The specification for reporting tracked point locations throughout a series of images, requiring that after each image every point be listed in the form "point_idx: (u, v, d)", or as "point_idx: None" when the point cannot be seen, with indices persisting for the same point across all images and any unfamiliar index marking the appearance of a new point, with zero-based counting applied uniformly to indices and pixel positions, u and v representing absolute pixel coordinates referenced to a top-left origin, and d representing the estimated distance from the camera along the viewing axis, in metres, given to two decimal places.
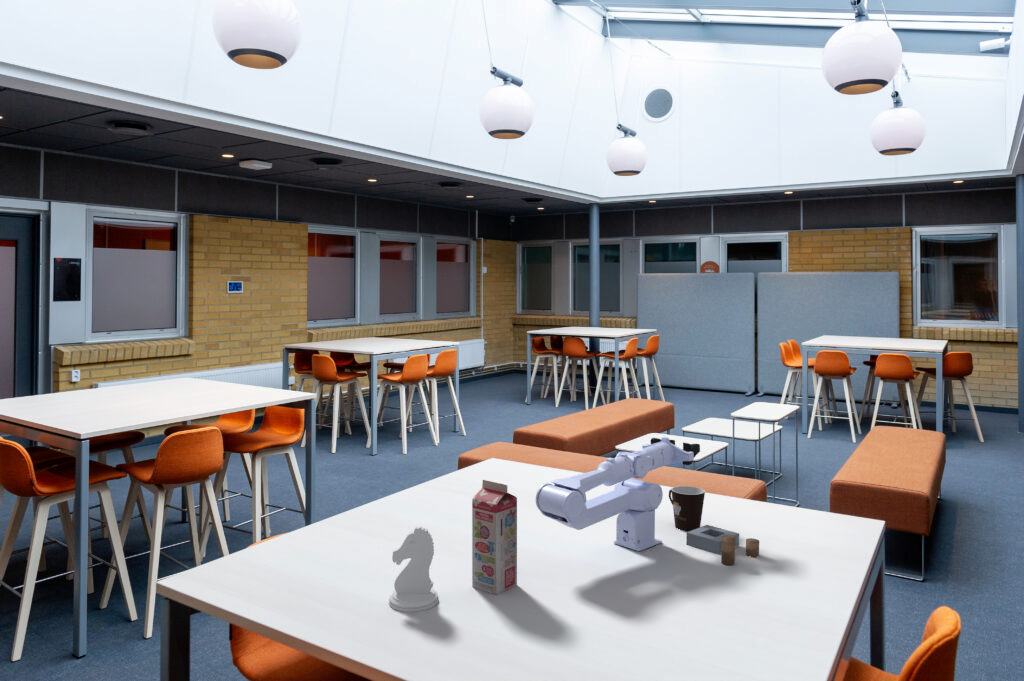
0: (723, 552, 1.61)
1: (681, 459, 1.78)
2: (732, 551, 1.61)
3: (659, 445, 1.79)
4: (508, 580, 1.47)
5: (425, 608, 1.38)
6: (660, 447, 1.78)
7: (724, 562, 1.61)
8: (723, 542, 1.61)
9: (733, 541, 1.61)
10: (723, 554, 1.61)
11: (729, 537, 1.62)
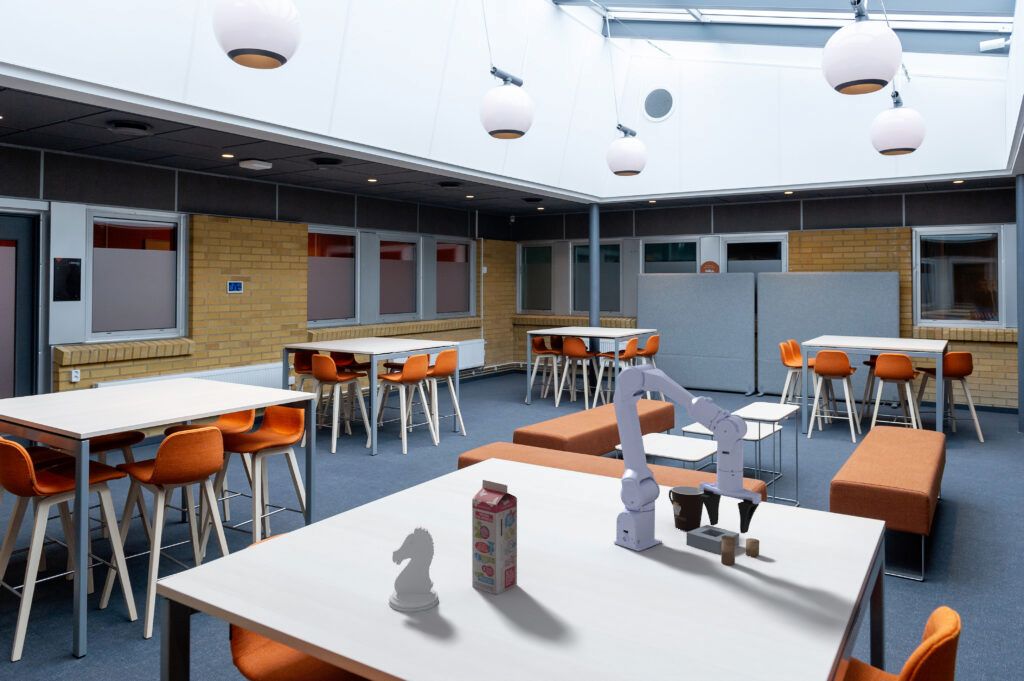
0: (723, 552, 1.61)
1: (746, 494, 1.57)
2: (732, 551, 1.61)
3: None
4: (508, 580, 1.47)
5: (425, 608, 1.38)
6: None
7: (724, 562, 1.61)
8: (723, 542, 1.61)
9: (733, 541, 1.61)
10: (723, 554, 1.61)
11: (728, 536, 1.62)
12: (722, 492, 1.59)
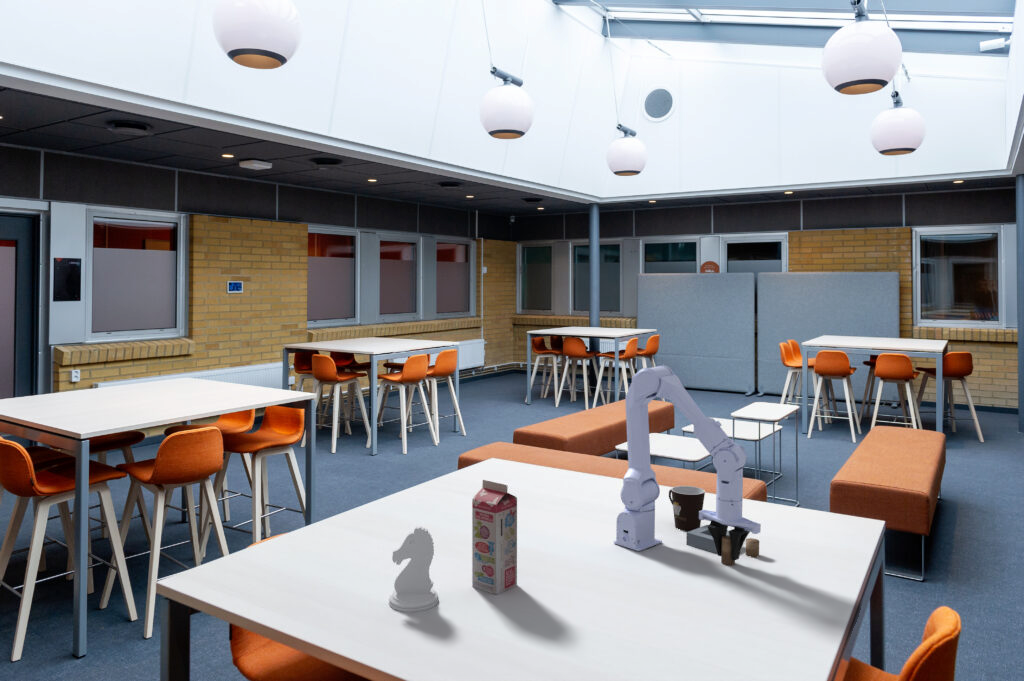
0: (723, 552, 1.61)
1: (746, 523, 1.58)
2: None
3: None
4: (508, 580, 1.47)
5: (425, 608, 1.38)
6: None
7: (724, 562, 1.61)
8: (723, 542, 1.61)
9: None
10: (723, 554, 1.62)
11: (728, 536, 1.62)
12: (721, 521, 1.60)
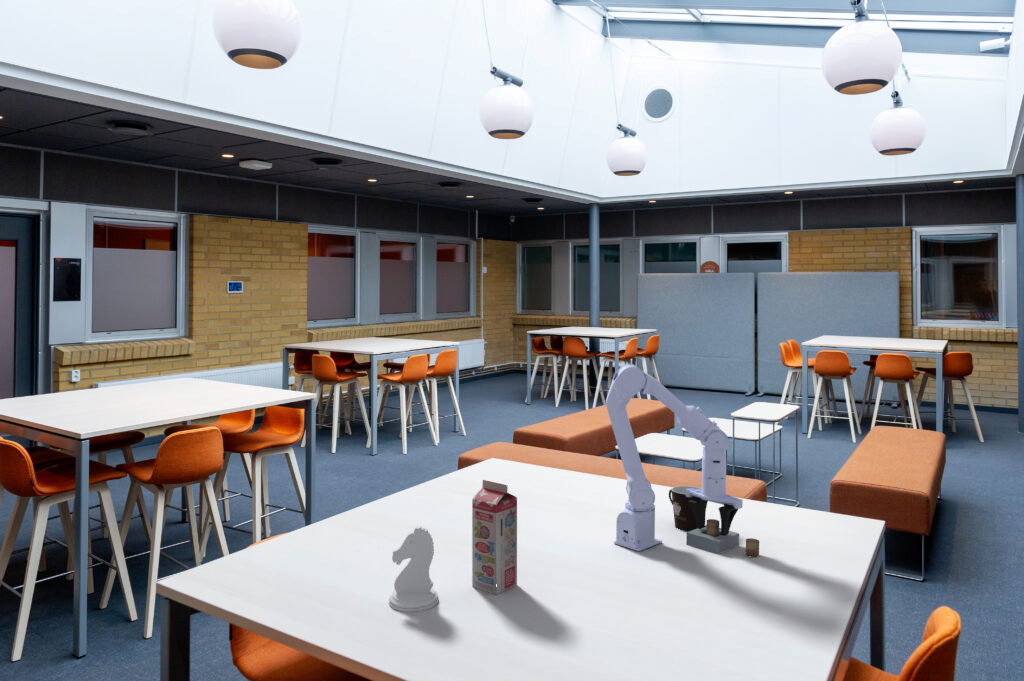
0: None
1: None
2: (717, 533, 1.73)
3: None
4: (508, 580, 1.47)
5: (425, 608, 1.38)
6: None
7: None
8: (708, 525, 1.73)
9: (717, 524, 1.73)
10: None
11: (713, 520, 1.74)
12: (706, 498, 1.72)
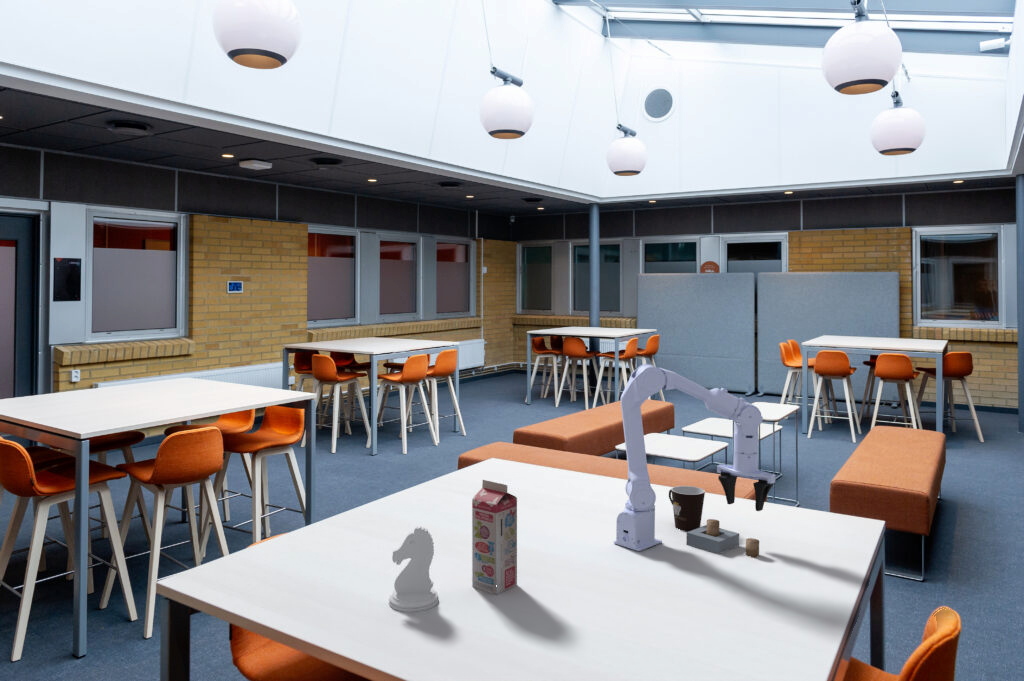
0: None
1: None
2: (717, 533, 1.73)
3: None
4: (508, 580, 1.47)
5: (425, 608, 1.38)
6: None
7: None
8: (708, 525, 1.73)
9: (717, 524, 1.73)
10: None
11: (713, 520, 1.74)
12: (739, 473, 1.72)
